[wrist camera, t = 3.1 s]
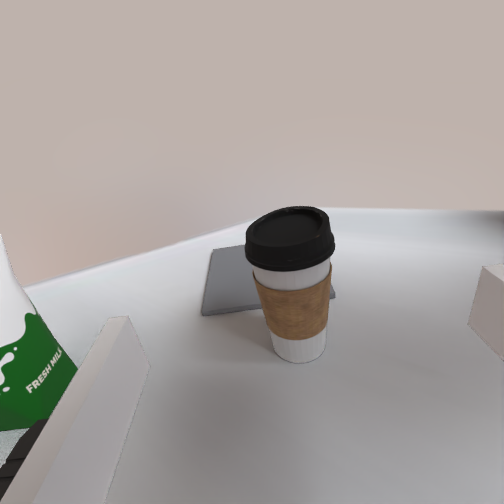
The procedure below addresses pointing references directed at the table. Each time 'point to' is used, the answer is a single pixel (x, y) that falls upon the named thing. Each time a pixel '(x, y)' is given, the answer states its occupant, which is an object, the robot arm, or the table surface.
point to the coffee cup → (293, 278)
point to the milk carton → (27, 357)
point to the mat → (232, 283)
